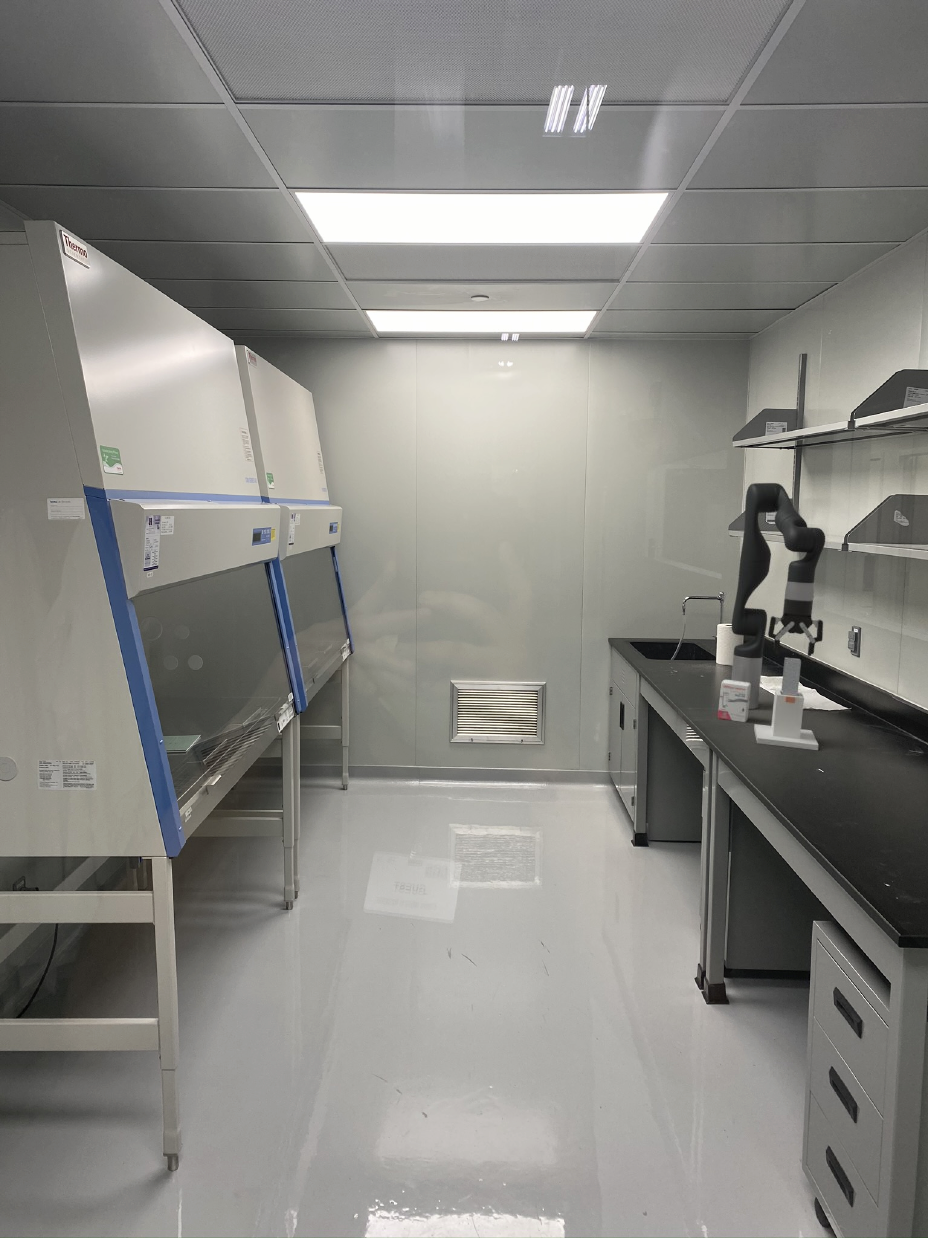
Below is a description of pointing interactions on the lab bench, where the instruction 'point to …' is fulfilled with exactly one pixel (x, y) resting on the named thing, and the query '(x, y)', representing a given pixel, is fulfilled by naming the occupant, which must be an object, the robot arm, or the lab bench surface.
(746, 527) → the robot arm
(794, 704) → the stand housing
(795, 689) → the steel post
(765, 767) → the lab bench surface
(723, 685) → the ink box
